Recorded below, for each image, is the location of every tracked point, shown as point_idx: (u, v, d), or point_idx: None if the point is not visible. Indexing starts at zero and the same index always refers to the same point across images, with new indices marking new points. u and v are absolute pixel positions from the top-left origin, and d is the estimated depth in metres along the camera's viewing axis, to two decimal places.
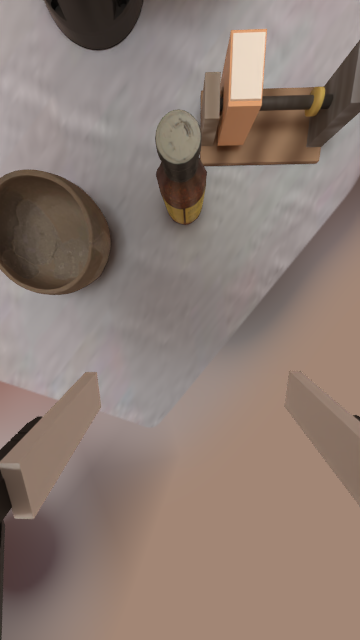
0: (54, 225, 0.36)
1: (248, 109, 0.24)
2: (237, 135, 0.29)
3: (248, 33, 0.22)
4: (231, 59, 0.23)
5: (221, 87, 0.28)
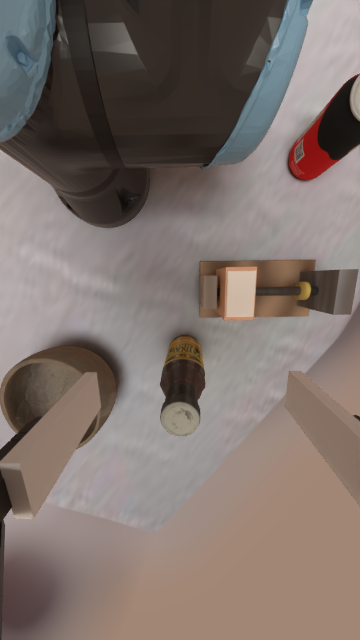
0: (64, 367, 0.38)
1: None
2: None
3: (241, 270, 0.25)
4: (226, 287, 0.26)
5: (218, 276, 0.31)
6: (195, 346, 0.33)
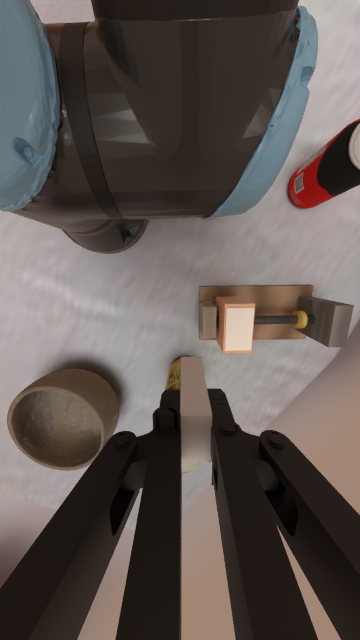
0: None
1: None
2: None
3: (239, 307, 0.26)
4: (225, 322, 0.27)
5: (217, 305, 0.32)
6: None
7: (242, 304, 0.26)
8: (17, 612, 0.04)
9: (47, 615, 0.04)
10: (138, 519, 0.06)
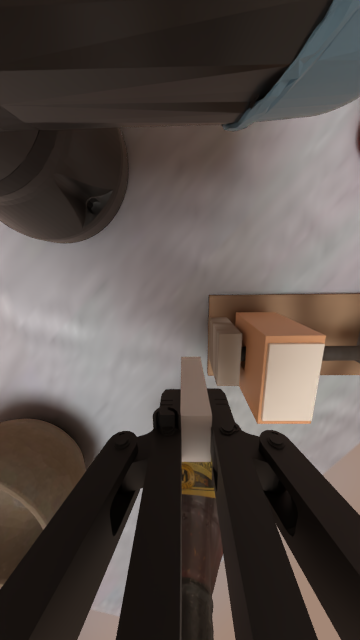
0: None
1: None
2: None
3: (295, 343, 0.13)
4: (264, 369, 0.14)
5: (241, 329, 0.19)
6: None
7: (300, 336, 0.13)
8: (18, 612, 0.04)
9: (47, 615, 0.04)
10: (138, 519, 0.06)
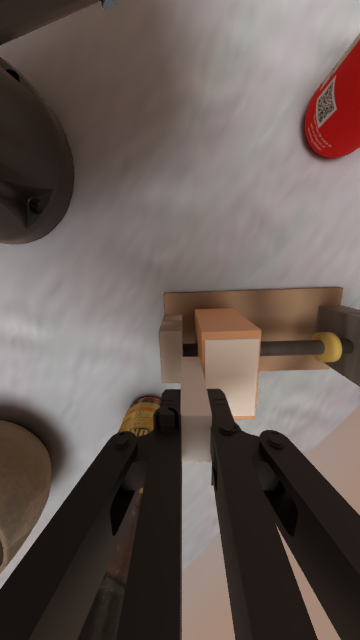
0: None
1: None
2: None
3: (231, 339, 0.13)
4: (204, 366, 0.14)
5: (196, 326, 0.19)
6: None
7: (236, 332, 0.13)
8: (18, 612, 0.04)
9: (47, 615, 0.04)
10: (138, 519, 0.06)
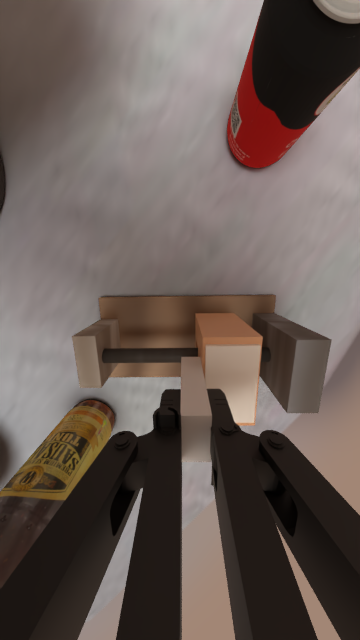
0: None
1: None
2: None
3: (232, 345, 0.13)
4: (204, 371, 0.14)
5: None
6: (85, 433, 0.21)
7: (237, 338, 0.13)
8: (18, 612, 0.04)
9: (48, 615, 0.04)
10: (138, 519, 0.06)
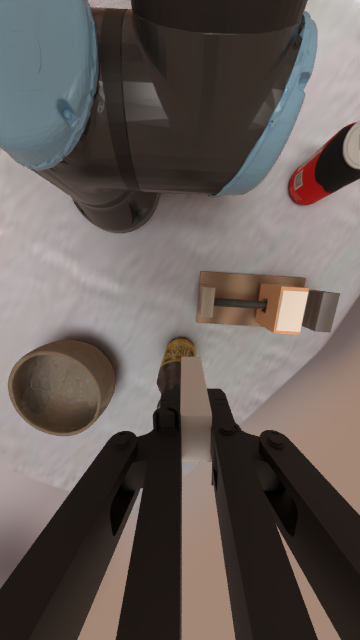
0: (67, 359, 0.41)
1: None
2: None
3: (295, 291, 0.28)
4: (279, 304, 0.29)
5: (264, 291, 0.34)
6: (190, 349, 0.36)
7: (297, 288, 0.29)
8: (17, 612, 0.04)
9: (47, 615, 0.04)
10: (138, 519, 0.06)
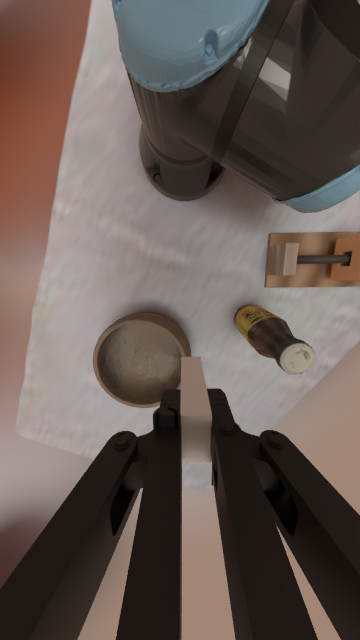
0: (136, 335, 0.41)
1: None
2: None
3: None
4: None
5: (345, 244, 0.33)
6: None
7: None
8: (18, 612, 0.04)
9: (47, 615, 0.04)
10: (138, 519, 0.06)
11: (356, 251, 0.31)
